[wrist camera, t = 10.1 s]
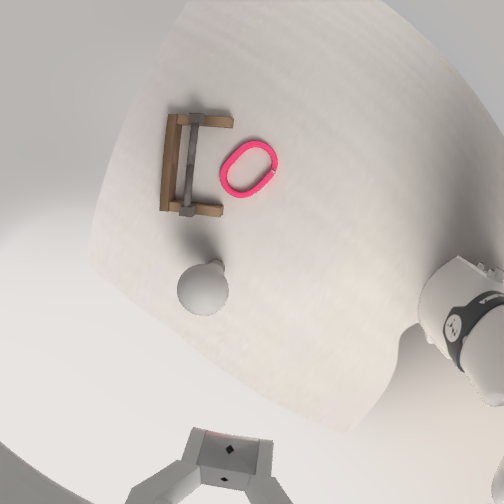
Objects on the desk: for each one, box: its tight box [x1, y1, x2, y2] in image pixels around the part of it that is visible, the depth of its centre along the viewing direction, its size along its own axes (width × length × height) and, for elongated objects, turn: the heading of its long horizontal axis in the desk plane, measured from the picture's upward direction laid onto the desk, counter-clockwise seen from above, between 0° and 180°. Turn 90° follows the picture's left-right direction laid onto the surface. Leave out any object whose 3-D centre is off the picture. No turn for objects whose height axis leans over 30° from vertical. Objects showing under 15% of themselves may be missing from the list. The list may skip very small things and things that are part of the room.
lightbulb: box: [177, 260, 229, 316], centre depth 35 cm, size 6×6×11 cm
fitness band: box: [220, 141, 278, 198], centre depth 35 cm, size 8×6×2 cm
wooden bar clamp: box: [159, 113, 234, 217], centre depth 34 cm, size 8×13×4 cm, turn 173°
